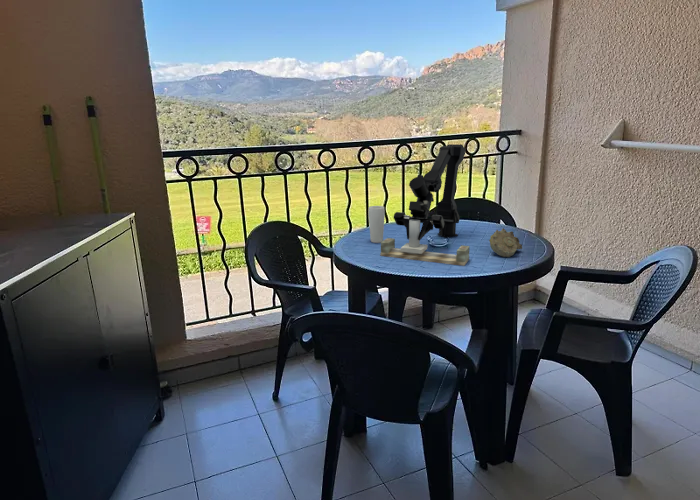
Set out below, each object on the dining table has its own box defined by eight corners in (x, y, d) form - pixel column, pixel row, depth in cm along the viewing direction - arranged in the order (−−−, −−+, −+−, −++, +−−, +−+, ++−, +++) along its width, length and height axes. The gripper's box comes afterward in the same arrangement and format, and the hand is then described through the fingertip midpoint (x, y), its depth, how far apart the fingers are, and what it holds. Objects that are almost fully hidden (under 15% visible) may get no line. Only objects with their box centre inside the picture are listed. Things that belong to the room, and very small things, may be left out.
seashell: (485, 259, 164) (486, 234, 160) (494, 245, 176) (495, 222, 172) (516, 264, 159) (518, 238, 155) (523, 249, 171) (525, 225, 167)
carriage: (401, 251, 164) (401, 221, 161) (407, 246, 170) (407, 217, 167) (421, 253, 161) (422, 223, 157) (427, 248, 167) (428, 219, 163)
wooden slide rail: (380, 255, 168) (380, 242, 166) (388, 250, 175) (388, 236, 173) (464, 265, 154) (465, 250, 152) (469, 259, 161) (469, 245, 159)
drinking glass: (383, 244, 183) (383, 208, 179) (367, 243, 185) (367, 208, 180) (385, 239, 190) (385, 205, 185) (370, 239, 191) (369, 205, 187)
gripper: (395, 191, 167) (384, 225, 160) (443, 193, 158) (433, 230, 152) (402, 207, 176) (392, 241, 169) (448, 210, 167) (439, 246, 161)
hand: (413, 239), depth 163 cm, fingers closed on carriage, 4 cm apart
